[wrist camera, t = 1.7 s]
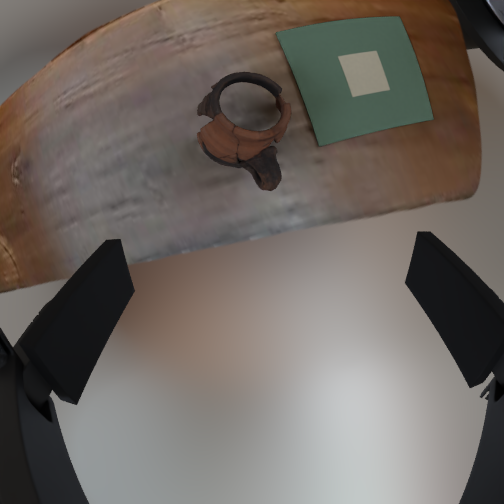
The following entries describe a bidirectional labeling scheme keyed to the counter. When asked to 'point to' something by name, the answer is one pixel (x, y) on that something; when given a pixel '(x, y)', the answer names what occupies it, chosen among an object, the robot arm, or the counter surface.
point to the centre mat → (356, 76)
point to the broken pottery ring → (243, 133)
